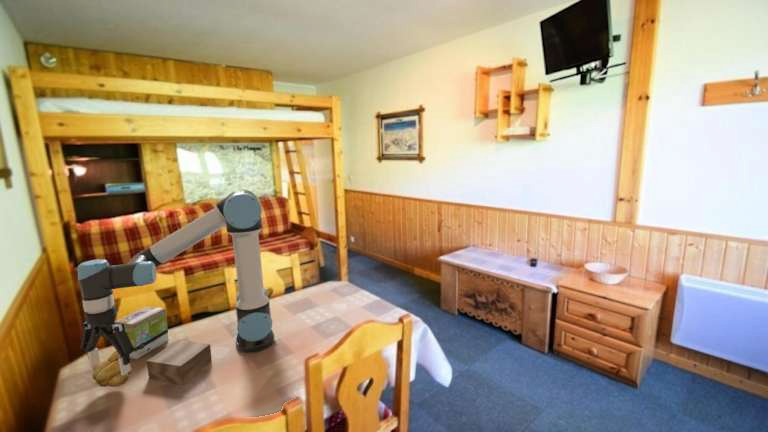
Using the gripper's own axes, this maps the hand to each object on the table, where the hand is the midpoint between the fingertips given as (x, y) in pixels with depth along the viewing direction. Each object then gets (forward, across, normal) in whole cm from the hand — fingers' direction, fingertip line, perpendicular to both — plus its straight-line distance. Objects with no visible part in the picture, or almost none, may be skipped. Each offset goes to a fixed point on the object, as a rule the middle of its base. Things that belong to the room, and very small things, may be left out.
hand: (111, 370), depth 112 cm
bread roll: (+4, 0, 0) cm, 4 cm away
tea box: (+8, +13, -24) cm, 28 cm away
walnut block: (+8, -13, -15) cm, 21 cm away
